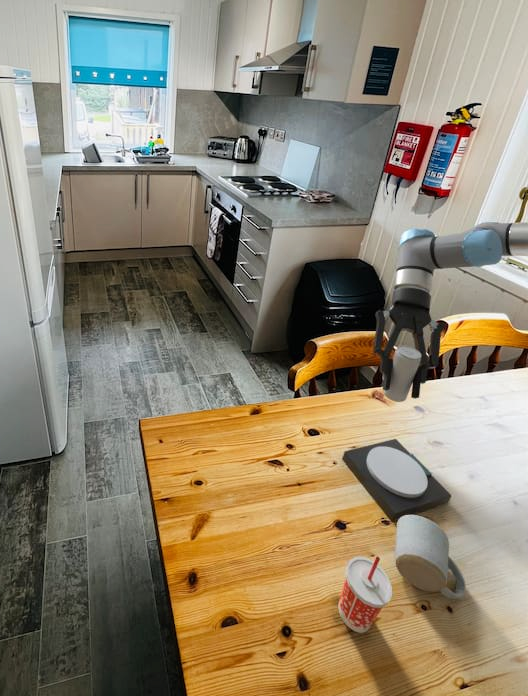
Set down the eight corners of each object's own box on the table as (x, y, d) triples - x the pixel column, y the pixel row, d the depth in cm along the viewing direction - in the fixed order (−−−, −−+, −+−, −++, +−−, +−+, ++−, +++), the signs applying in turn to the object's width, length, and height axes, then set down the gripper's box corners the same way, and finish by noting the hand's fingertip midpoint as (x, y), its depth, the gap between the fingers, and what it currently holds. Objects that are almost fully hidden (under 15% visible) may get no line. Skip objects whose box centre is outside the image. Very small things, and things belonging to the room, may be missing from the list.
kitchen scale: (448, 503, 78) (453, 492, 77) (391, 521, 74) (396, 509, 73) (392, 446, 90) (397, 435, 89) (341, 459, 86) (345, 447, 85)
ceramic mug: (388, 575, 66) (402, 547, 63) (391, 532, 72) (404, 505, 69) (464, 618, 61) (483, 590, 58) (460, 568, 67) (477, 540, 64)
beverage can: (393, 386, 91) (408, 343, 87) (410, 401, 87) (427, 356, 82) (377, 390, 90) (391, 346, 85) (394, 405, 86) (410, 360, 81)
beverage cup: (384, 621, 60) (411, 566, 54) (360, 649, 57) (387, 593, 51) (348, 582, 65) (370, 527, 59) (324, 605, 61) (345, 550, 56)
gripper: (450, 306, 92) (442, 408, 84) (366, 289, 98) (352, 382, 90) (463, 296, 85) (456, 405, 77) (373, 278, 91) (358, 378, 83)
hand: (400, 393), depth 84 cm, fingers closed on beverage can, 5 cm apart
